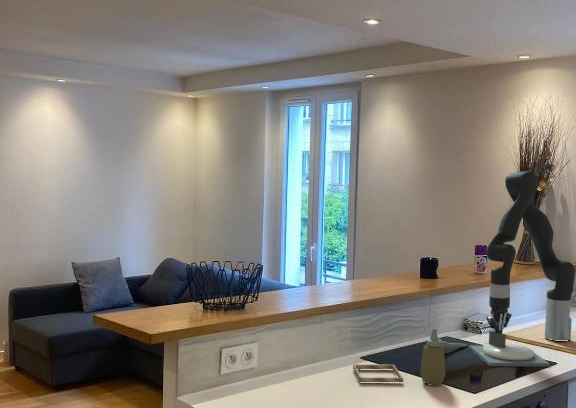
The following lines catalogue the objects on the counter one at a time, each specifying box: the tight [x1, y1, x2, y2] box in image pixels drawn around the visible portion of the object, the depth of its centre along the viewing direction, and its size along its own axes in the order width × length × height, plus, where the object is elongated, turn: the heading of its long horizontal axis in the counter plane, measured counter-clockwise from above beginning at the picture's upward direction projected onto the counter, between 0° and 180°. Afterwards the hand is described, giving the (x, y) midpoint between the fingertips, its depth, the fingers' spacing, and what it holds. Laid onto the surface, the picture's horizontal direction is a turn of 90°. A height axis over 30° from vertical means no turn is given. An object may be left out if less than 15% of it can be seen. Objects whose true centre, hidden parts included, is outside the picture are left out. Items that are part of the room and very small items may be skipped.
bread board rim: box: [352, 363, 404, 383], centre depth 220 cm, size 14×14×2 cm
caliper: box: [439, 338, 468, 350], centre depth 254 cm, size 20×1×6 cm, turn 130°
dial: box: [482, 330, 535, 361], centre depth 247 cm, size 19×18×6 cm
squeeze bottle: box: [419, 328, 446, 386], centre depth 214 cm, size 8×8×18 cm
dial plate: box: [468, 345, 551, 368], centre depth 247 cm, size 22×22×1 cm
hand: (498, 339), depth 255 cm, fingers closed
